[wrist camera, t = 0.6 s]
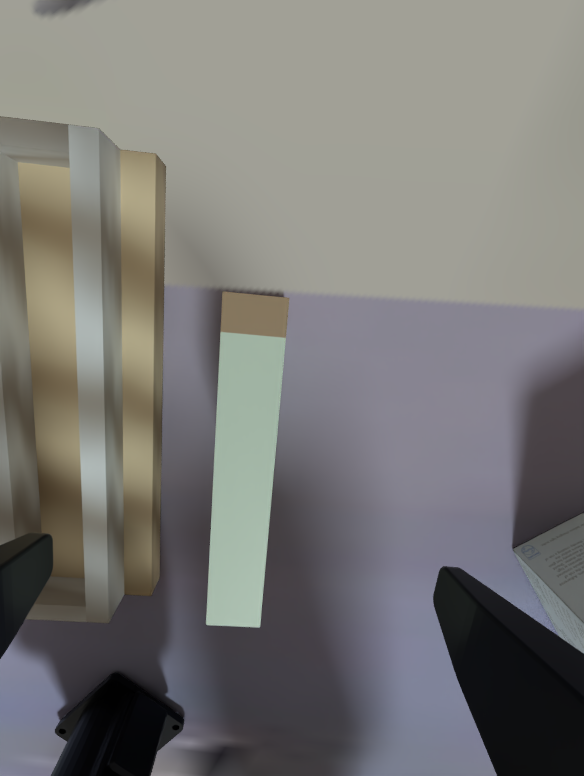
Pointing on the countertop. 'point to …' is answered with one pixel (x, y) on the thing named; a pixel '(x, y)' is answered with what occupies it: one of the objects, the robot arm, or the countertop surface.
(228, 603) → the door panel
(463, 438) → the countertop surface
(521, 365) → the countertop surface
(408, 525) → the countertop surface
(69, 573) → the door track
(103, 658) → the countertop surface
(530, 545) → the light bulb box
